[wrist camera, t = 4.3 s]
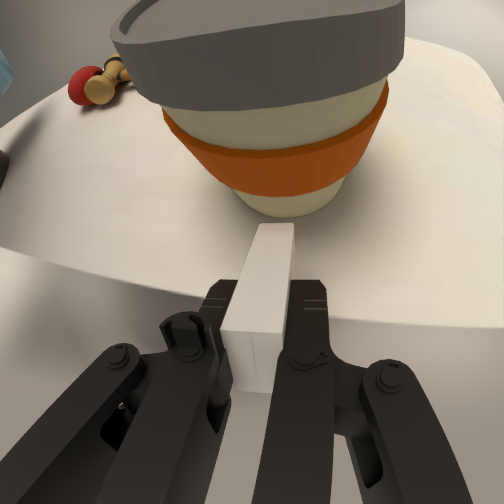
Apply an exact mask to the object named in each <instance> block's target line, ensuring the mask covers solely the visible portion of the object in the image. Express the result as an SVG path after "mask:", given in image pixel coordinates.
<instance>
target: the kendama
mask: <svg viewBox="0 0 504 504" xmlns="http://www.w3.org/2000/svg"><path fill="white" fill-rule="evenodd" d="M126 81H132V80H131V78H130V76H129V74H128V72H127V70H126V68H125V66H124V64H123V62H122V60H121V58H120V56H119V54H118V53H116V54H114V55H112V56H111V57H110V58H108V59H107V61H106V62H105V64H104V71H103V70H102V69H101V68H99V67H96V66H87V67H83V68H81V69H80V70H78V71H77V72H76V73H75V74H74V75H73V76H72V78H71V80H70V82H69V85H68V94H69V97H70V99H71V100H72V101H73V102H74V103H76V104H78V105H82V106H86V105H90V104H93V103H96V104H101V105H102V104H106V103H108V102H109V101H110V100H111V99H112V98H113V96H114V94H115V88H114V87H115V86H116V84H117V82H119V83H121V82H126Z"/></svg>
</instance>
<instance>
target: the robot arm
mask: <svg viewBox="0 0 504 504" xmlns="http://www.w3.org/2000/svg"><path fill="white" fill-rule="evenodd" d="M13 78H14V74H13V71H12V69H11V67H10V65H9V63H8V62H7V60H6V58H5V57H4V55H3V54H2V52H1V50H0V99H1V97H2V95H3V93H4V92H5V91H6V90H7V88H8V87H9V86H10V85H11V83H12V81H13ZM8 162H9V157H8V155H7V154H6V153H5V152H3V151H2V150H0V187H1V184H2V182H3V179H4V176H5V173H6V170H7V167H8ZM159 327H160V329H161V332H162V335H163V337H164V339H165V342H166V344H167V347H168V350H167V351H166V352H161V353H153V354H143V355H140V353H139V351H138V349H137V348H136V347H135V346H133V345H131V344H128V343H121V344H116V345H114V346H111V347H109V348H108V349H107V350H105V351H104V352H103V353H102V354H101V355H100V356H99V357H98V358H97V359H96V360H95V361H94V362H93V363H92V364H91V365H90V366H89V367H88V368H87V369H86V370H85V371H84V372H83V373H82V374H81V375H80V376H79V377H78V378H77V379H76V380H75V381H74V382H73V383H72V384H71V385H70V386H69V387H68V388H67V389H66V390H65V391H64V392H63V393H62V395H61V396H60V397H59V398H58V399H57V400H56V401H55V402H54V403H53V404H52V405H51V406H50V407H49V408H48V409H47V410H46V411H45V413H44V414H43V415H42V416H41V417H40V418H39V419H38V420H37V421H36V422H35V423H34V425H32V426H31V428H30V429H29V430H28V431H27V432H26V433H25V434H24V435H23V436H22V437H21V439H20V440H19V441H18V442H17V443H16V444H15V445H14V447H13V448H12V449H11V450H10V451H9V452H8V453H7V454H6V456H5V457H4V458H3V459H2V460H1V461H0V504H204V502H205V499H206V496H207V492H208V489H209V485H210V482H211V478H212V474H213V471H214V467H215V464H216V460H217V457H218V453H219V449H220V446H221V442H222V438H223V435H224V430H225V427H226V423H227V419H228V416H229V412H230V408H231V397H230V391H231V387H232V383H233V384H234V388H235V390H236V391H245V392H254V393H268V394H272V398H271V404H270V410H269V416H268V421H267V428H266V433H265V438H264V444H263V449H262V454H261V459H260V465H259V470H258V475H257V479H256V484H255V489H254V494H253V498H252V503H251V504H330V496H331V484H332V468H333V467H332V466H333V445H334V434H339V435H342V436H345V439H346V442H347V446H348V449H349V453H350V456H351V460H352V463H353V467H354V471H355V474H356V478H357V482H358V486H359V489H360V493H361V497H362V501H363V504H473V502H472V499H471V496H470V494H469V491H468V488H467V485H466V483H465V480H464V477H463V475H462V472H461V470H460V468H459V465H458V463H457V460H456V458H455V455H454V453H453V451H452V449H451V446H450V444H449V442H448V440H447V437H446V436H445V433H444V431H443V429H442V427H441V425H440V423H439V420H438V419H437V416H436V414H435V412H434V410H433V408H432V407H431V405H430V402H429V400H428V398H427V397H426V395H425V393H424V391H423V389H422V387H421V385H420V383H419V381H418V380H417V378H416V376H415V374H414V373H413V371H412V370H411V369H410V368H409V367H408V366H407V365H406V364H404V363H402V362H400V361H396V360H392V359H386V360H379V361H377V362H375V363H373V364H371V365H370V366H369V367H368V368H363V367H359V366H355V365H351V364H348V363H345V362H344V361H342V360H341V359H339V358H338V357H337V356H336V355H335V354H334V353H333V351H332V349H331V347H330V340H329V322H328V307H327V294H326V288H325V287H324V285H323V284H322V283H321V281H320V280H295V240H294V223H260V224H259V227H258V229H257V232H256V235H255V237H254V240H253V243H252V245H251V248H250V250H249V253H248V256H247V258H246V261H245V264H244V266H243V269H242V272H241V275H240V277H239V280H223V279H220V280H219V281H218V282H216V283H215V284H214V285H213V286H212V287H210V289H209V291H208V293H207V296H206V299H205V300H204V302H203V304H202V307H201V308H200V310H199V312H198V313H197V312H193V311H189V312H180V313H177V314H174V315H172V316H170V317H168V318H167V319H165V320H164V321H163V322H162V323H161V324H160V326H159ZM121 403H123V404H122V405H120V404H121ZM119 405H120V406H119Z"/></svg>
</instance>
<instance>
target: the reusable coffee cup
mask: <svg viewBox="0 0 504 504" xmlns="http://www.w3.org/2000/svg"><path fill="white" fill-rule="evenodd" d="M110 37H111V39H112V41H113V43H114V45H115V47H116V49H117V52H118V54H119V56H120V58H121V60H122V62H123V64H124V66H125V68H126V70H127V72H128V74H129V76H130V78H131V80H132V82H133V84H134V86H135V88H136V89H137V91H138V93H139V94H141V95H142V96H144V97H145V98H146V99H148V100H149V101H151V102H153V103H157V104H159V105H160V106H161V107H162V111H163V116H164V120H165V122H166V123H167V125H168V126H169V128H170V130H171V131H172V133H173V134H174V135H175V136H176V137H177V138H178V139H179V140H180V141H181V142H182V143H183V144H184V145H185V146H186V147H187V149H188V150H189V151H190V152H191V153H192V154H193V155H194V156H195V157H196V158H197V159H198V160H199V162H200V163H201V164H202V165H203V166H204V167H205V168H206V169H207V170H208V171H209V172H210V173H211V174H212V175H213V176H214V177H215V178H217V179H218V180H219V181H220V182H222V183H224V184H226V185H227V186H229V187H231V188H232V189H233V190H234V191H235V192H236V194H237V195H238V196H239V197H240V198H241V199H242V200H243V201H244V202H245V203H246V204H247V205H248V206H249V207H251V208H253V209H254V210H256V211H258V212H260V213H263V214H266V215H269V216H274V217H280V218H292V217H299V216H304V215H307V214H310V213H312V212H315V211H317V210H319V209H320V208H322V207H324V206H325V205H327V204H328V203H329V202H330V201H331V200H332V199H333V198H334V197H335V195H336V194H337V192H338V191H339V189H340V188H341V185H342V183H343V181H344V179H345V177H346V175H347V174H348V173H349V172H350V171H351V170H352V169H353V168H354V167H355V166H356V165H357V163H358V162H359V160H360V158H361V157H362V155H363V153H364V152H365V150H366V148H367V145H368V143H369V141H370V139H371V137H372V135H373V133H374V131H375V128H376V126H377V124H378V122H379V120H380V117H381V115H382V113H383V111H384V109H385V106H386V104H387V99H388V93H389V87H388V81H387V77H388V74H390V73H391V72H392V71H394V70H395V69H396V68H397V66H398V65H399V63H400V61H401V60H402V58H403V54H404V39H405V0H138V1H136V2H135V3H134V4H133V5H131V6H130V7H129V8H127V9H126V10H125V11H124V12H123V13H122V14H121V15H120V16H119V17H118V19H117V20H116V21H115V23H114V24H113V26H112V27H111V31H110Z"/></svg>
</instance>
